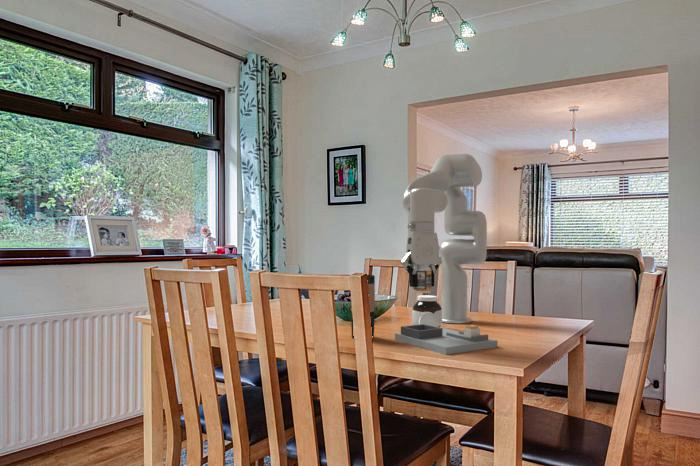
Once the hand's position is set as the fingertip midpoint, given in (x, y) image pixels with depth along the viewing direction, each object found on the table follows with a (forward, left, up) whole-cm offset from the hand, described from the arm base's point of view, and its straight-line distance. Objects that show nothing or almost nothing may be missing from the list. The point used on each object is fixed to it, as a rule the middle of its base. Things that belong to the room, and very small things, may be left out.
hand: (421, 285), depth 163 cm
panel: (+5, +5, -17) cm, 19 cm away
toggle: (+12, +10, -15) cm, 21 cm away
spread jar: (-15, +15, -18) cm, 27 cm away
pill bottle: (0, 0, -2) cm, 2 cm away
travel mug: (-15, -12, -18) cm, 26 cm away
